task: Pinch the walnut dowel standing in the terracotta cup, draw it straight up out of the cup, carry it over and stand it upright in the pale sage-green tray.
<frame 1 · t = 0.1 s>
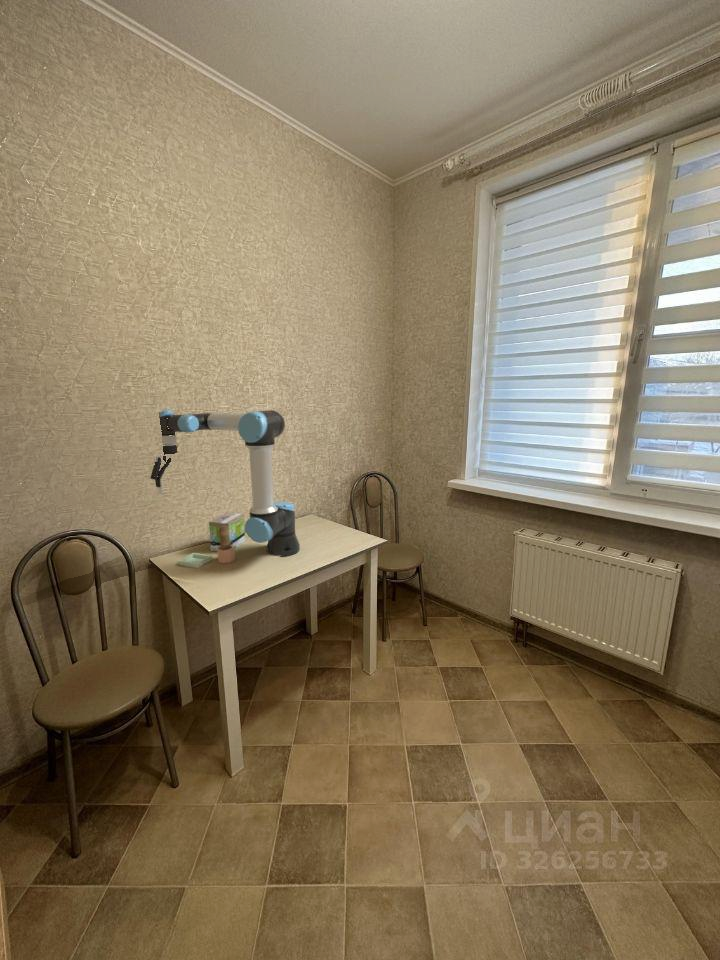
hand: (173, 490, 176), 28 cm above the table, fingers open, 13 cm apart
tray: (195, 563, 164), on the table
dowel: (226, 559, 166), point 1 cm above the table, touching cup
tea box: (228, 547, 183), on the table
cup: (226, 561, 166), on the table
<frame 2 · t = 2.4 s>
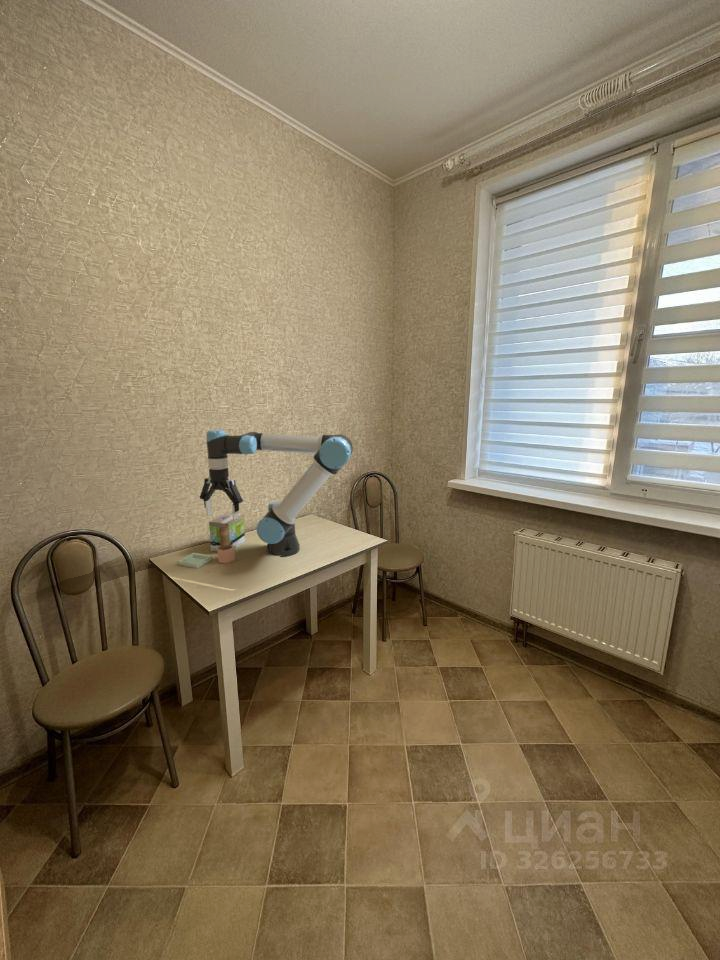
hand: (222, 516, 162), 20 cm above the table, fingers open, 13 cm apart
nothing on the table moved.
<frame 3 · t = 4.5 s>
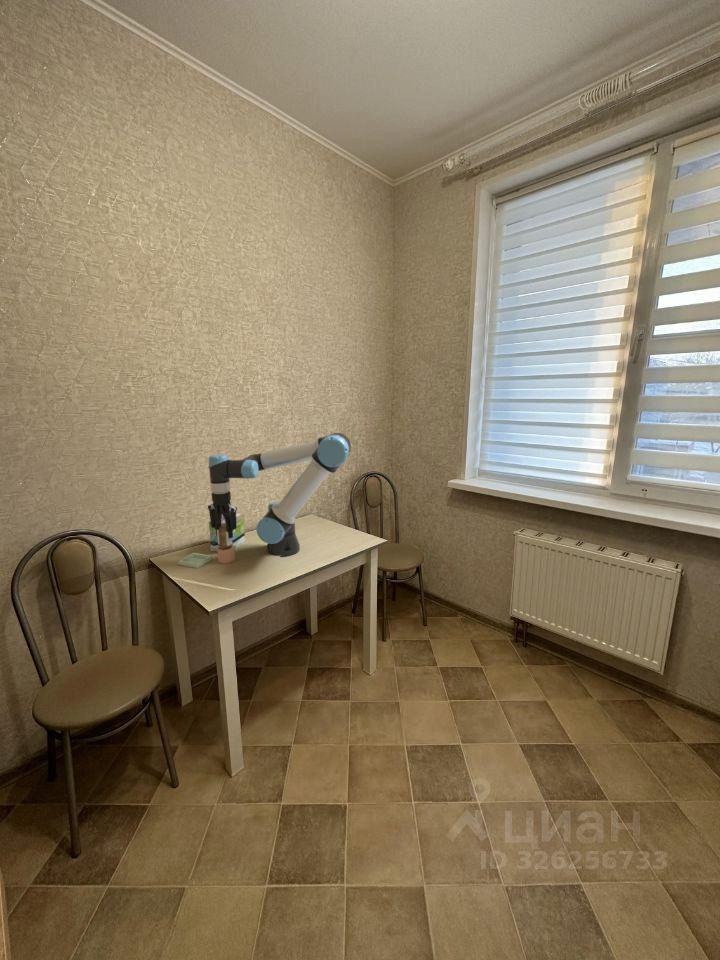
hand: (225, 543, 165), 8 cm above the table, fingers closed on dowel, 4 cm apart
dowel: (226, 559, 166), point 1 cm above the table, touching cup, gripper
everything else where it was.
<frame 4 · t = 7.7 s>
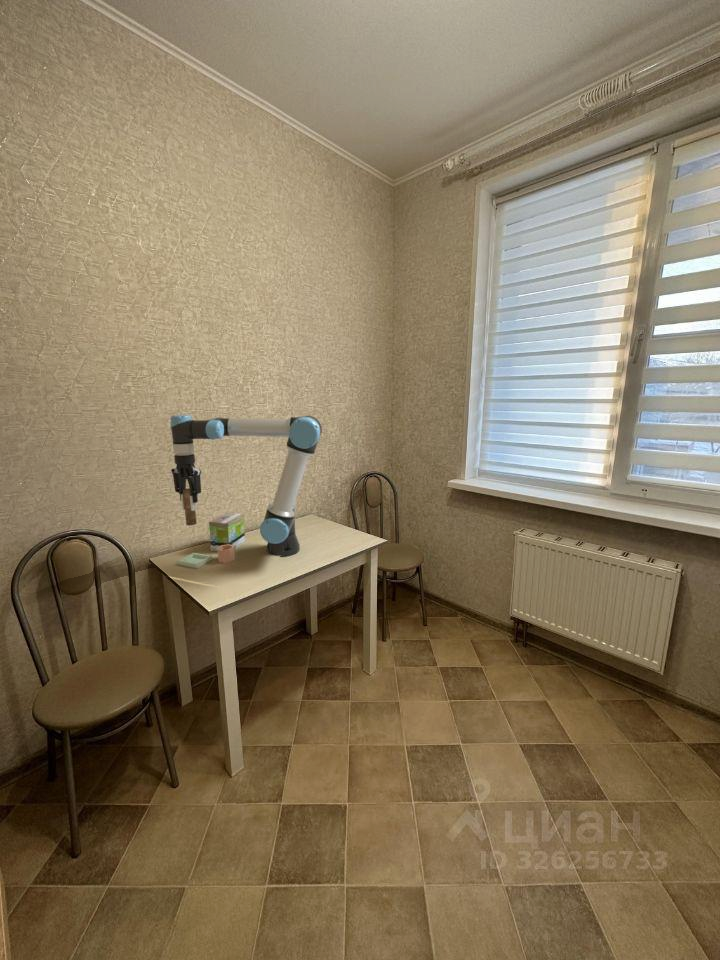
hand: (189, 509, 159), 25 cm above the table, fingers closed on dowel, 4 cm apart
dowel: (191, 523, 160), point 18 cm above the table, touching gripper
everything else where it was.
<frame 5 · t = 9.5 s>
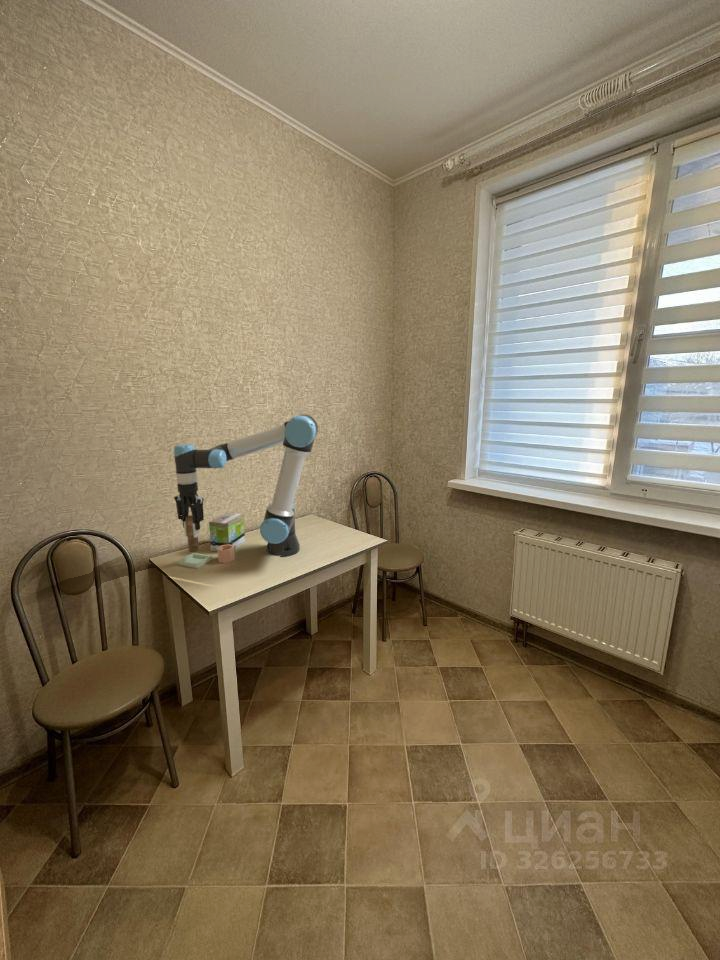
hand: (192, 535, 161), 13 cm above the table, fingers closed on dowel, 4 cm apart
dowel: (193, 550, 163), point 6 cm above the table, touching gripper
everything else where it was.
when the fingers open (9 cm above the table, at t = 10.9 s): dowel drops 2 cm, resting on tray.
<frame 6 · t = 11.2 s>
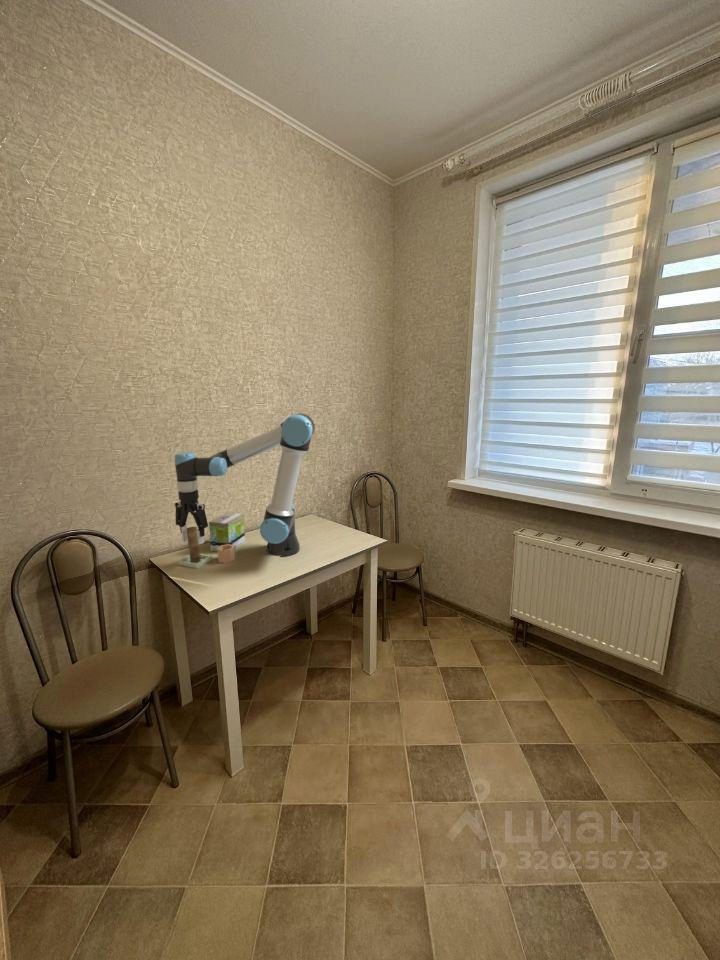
hand: (193, 542, 162), 10 cm above the table, fingers open, 8 cm apart
dowel: (195, 561, 164), point 1 cm above the table, touching tray
everything else where it was.
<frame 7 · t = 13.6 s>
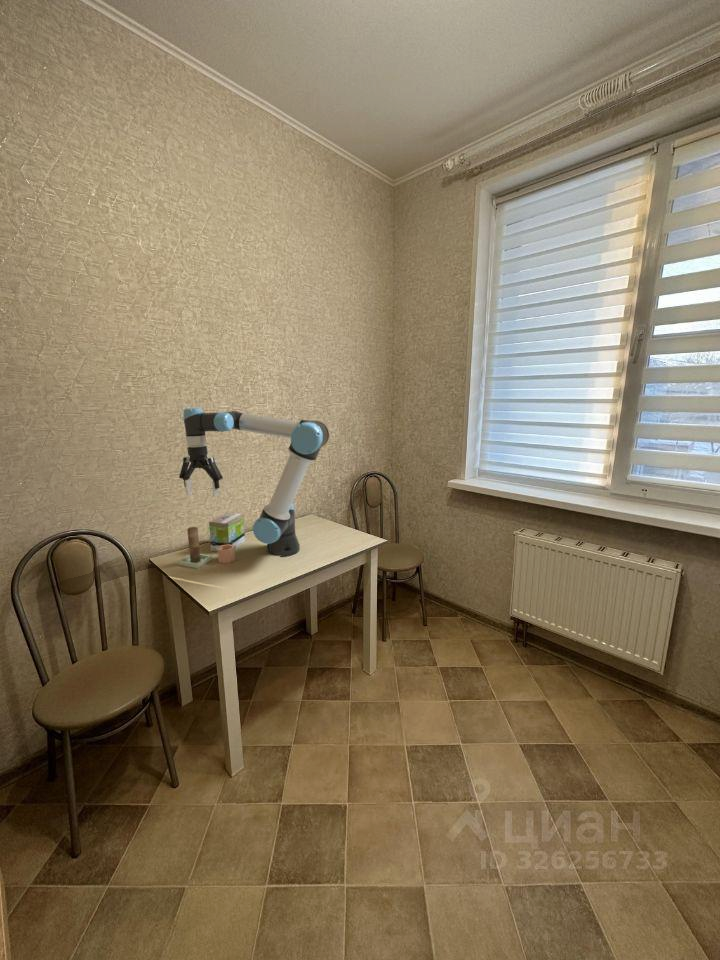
hand: (202, 495, 163), 29 cm above the table, fingers open, 13 cm apart
nothing on the table moved.
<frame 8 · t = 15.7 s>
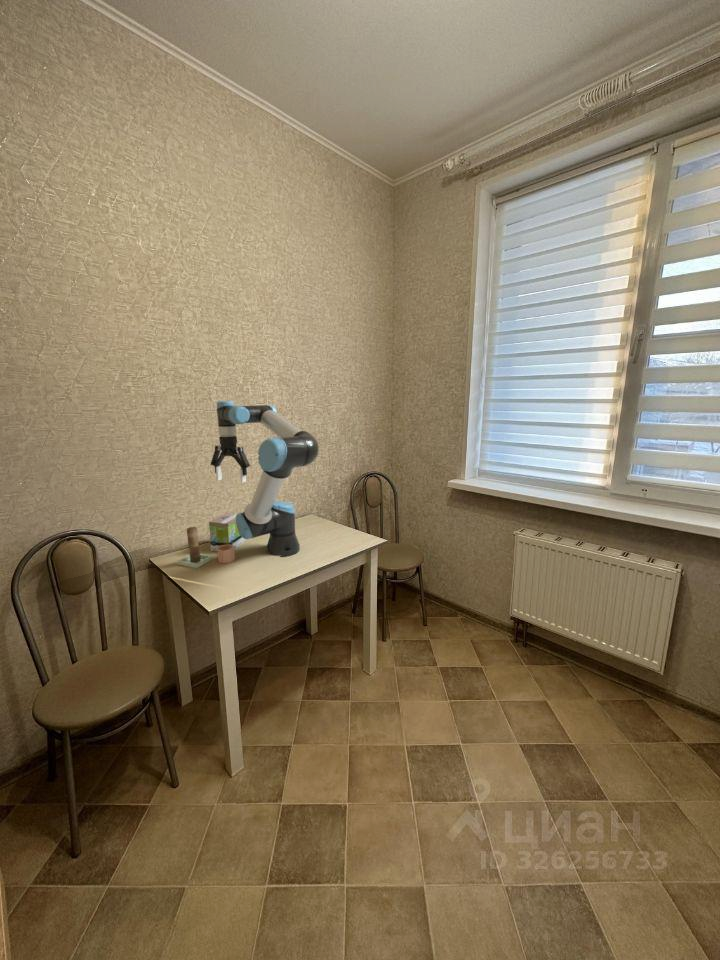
hand: (231, 481, 178), 32 cm above the table, fingers open, 13 cm apart
nothing on the table moved.
at the end: dowel inside the target area on the tray (0.1 cm from its centre), point 1.0 cm above the tray's base; dowel tilted 0°; the gripper is holding nothing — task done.
